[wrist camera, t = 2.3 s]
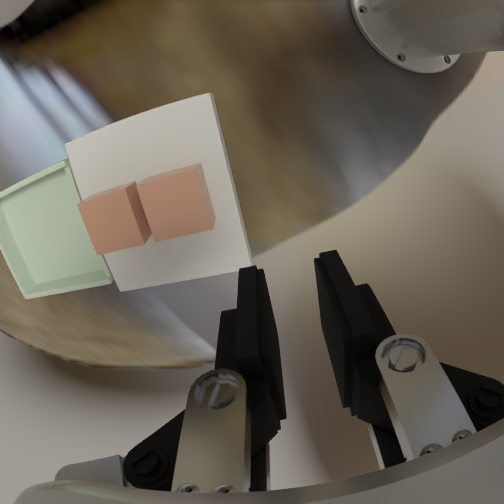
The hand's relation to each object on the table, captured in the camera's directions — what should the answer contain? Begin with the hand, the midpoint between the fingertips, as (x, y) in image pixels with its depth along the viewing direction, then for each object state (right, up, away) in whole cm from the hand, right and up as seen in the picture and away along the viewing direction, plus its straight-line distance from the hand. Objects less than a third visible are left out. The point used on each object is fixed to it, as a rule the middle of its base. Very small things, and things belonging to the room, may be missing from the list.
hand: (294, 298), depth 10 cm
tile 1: (-13, +5, +16) cm, 21 cm away
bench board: (-10, +7, +18) cm, 22 cm away
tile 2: (-7, +6, +15) cm, 18 cm away
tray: (-24, +4, +19) cm, 31 cm away
